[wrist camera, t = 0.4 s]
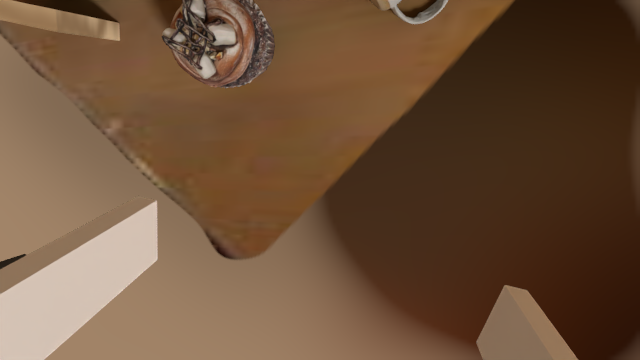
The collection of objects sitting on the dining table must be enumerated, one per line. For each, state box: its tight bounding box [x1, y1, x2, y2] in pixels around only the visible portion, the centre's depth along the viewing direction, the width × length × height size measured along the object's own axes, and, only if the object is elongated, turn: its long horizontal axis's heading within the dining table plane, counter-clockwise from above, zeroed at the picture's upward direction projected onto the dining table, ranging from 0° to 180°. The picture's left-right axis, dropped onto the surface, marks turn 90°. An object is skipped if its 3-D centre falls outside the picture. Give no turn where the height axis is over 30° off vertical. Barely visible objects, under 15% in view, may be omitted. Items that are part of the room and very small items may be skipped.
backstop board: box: [0, 0, 120, 41], centre depth 34 cm, size 2×13×8 cm, turn 79°
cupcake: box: [162, 0, 275, 88], centre depth 31 cm, size 10×10×10 cm
